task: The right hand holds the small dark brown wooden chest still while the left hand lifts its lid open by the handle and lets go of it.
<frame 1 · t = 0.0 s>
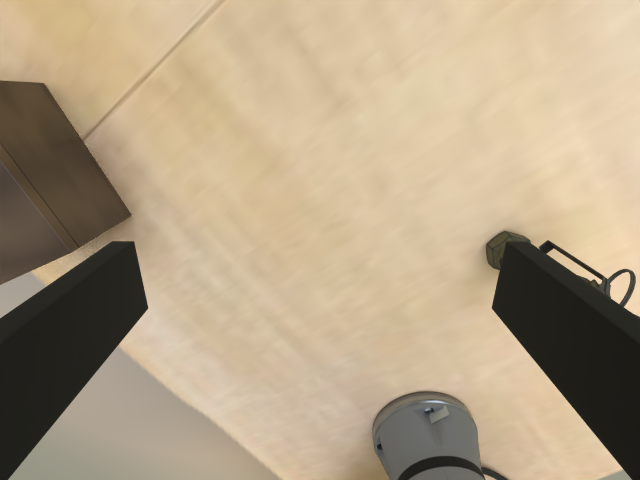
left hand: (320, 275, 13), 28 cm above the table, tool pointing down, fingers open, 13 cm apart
grenade: (514, 246, 43), on the table
chest: (57, 170, 39), on the table
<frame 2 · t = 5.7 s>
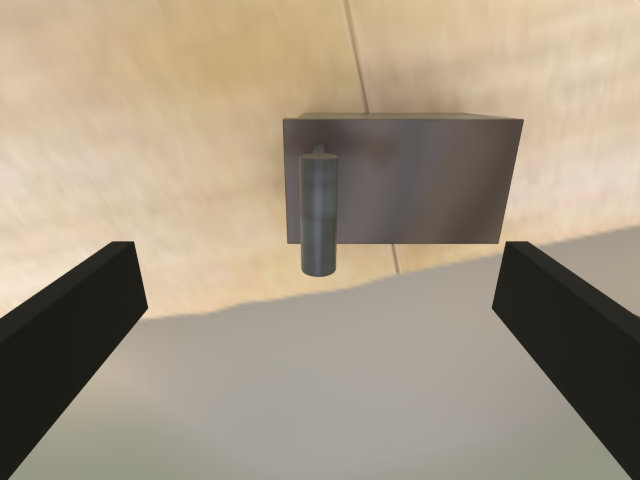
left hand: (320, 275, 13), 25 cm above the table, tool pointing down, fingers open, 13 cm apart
lid: (409, 198, 22), point 14 cm above the table, hinge at 0.0°
chest: (380, 161, 36), on the table
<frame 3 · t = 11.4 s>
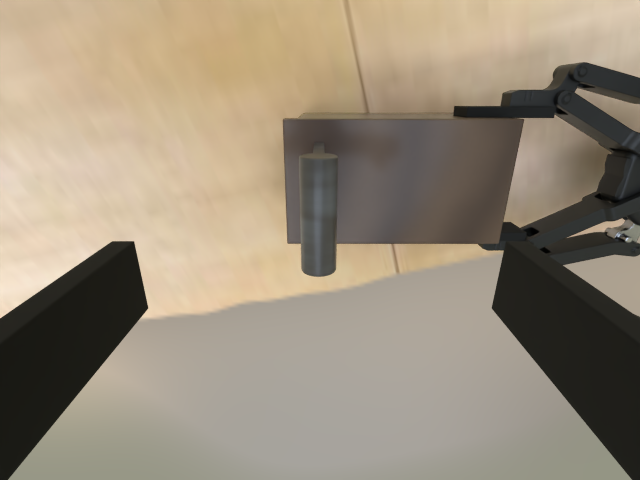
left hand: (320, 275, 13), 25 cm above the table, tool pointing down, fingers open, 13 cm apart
right hand: (451, 175, 29), fingers closed on chest, 9 cm apart
lid: (409, 198, 22), point 14 cm above the table, hinge at 0.0°
chest: (380, 161, 36), on the table, touching right hand
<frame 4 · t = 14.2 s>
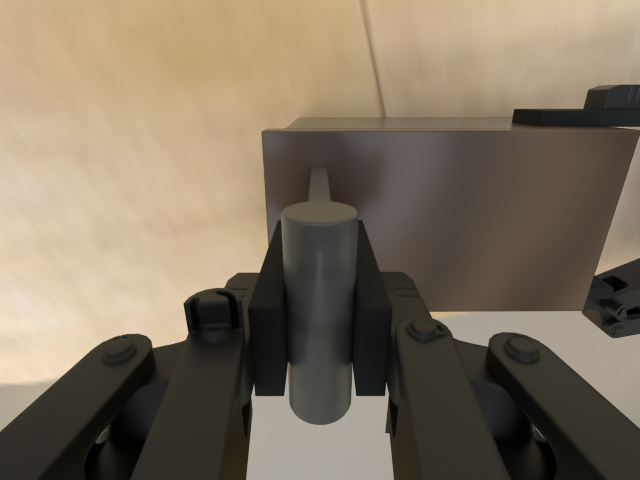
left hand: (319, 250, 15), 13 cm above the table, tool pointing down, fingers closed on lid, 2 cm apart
lid: (467, 261, 14), point 14 cm above the table, hinge at 0.6°, touching left hand
chest: (400, 181, 27), on the table, touching right hand
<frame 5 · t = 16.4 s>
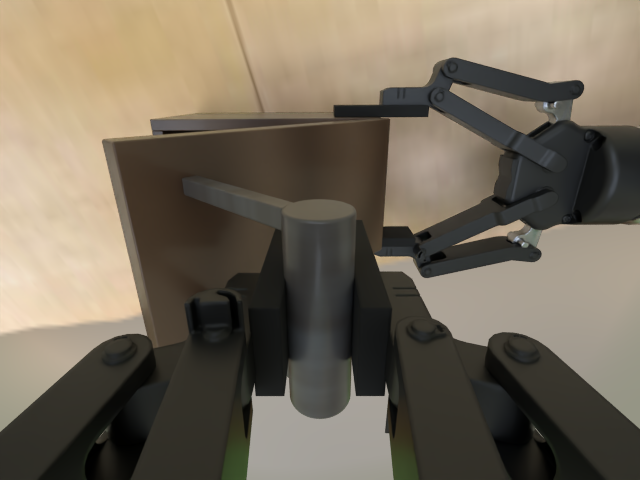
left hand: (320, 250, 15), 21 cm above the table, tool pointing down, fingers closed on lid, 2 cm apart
right hand: (333, 178, 28), fingers closed on chest, 9 cm apart
lid: (348, 232, 17), point 19 cm above the table, hinge at 46.1°, touching left hand
chest: (282, 162, 34), on the table, touching right hand
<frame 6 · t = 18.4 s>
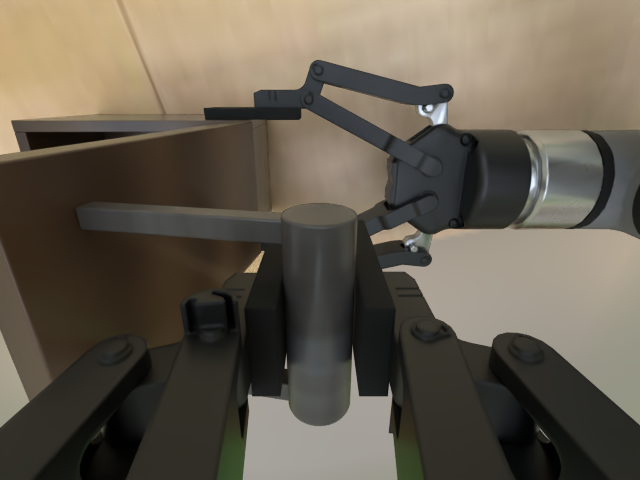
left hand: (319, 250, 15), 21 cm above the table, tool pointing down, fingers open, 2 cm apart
right hand: (217, 181, 27), fingers closed on chest, 9 cm apart
lid: (265, 238, 16), point 19 cm above the table, hinge at 78.7°
chest: (188, 164, 34), on the table, touching right hand
when the right hand's fingers open (7 cm above the table, at t = 22.8 s): chest stays where it is, on the table.
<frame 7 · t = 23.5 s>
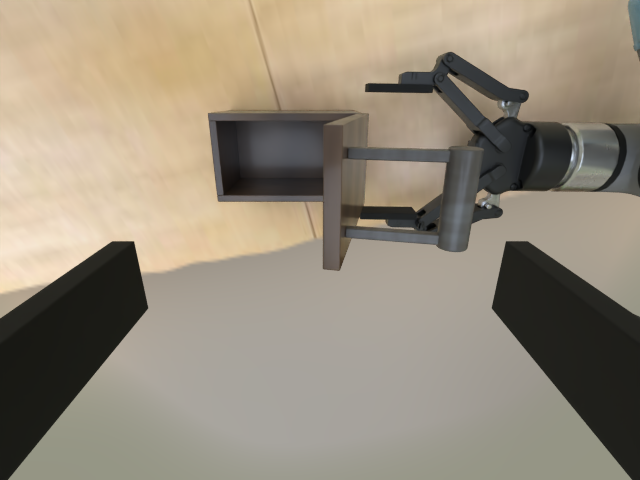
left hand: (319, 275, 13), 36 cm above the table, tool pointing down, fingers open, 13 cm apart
right hand: (362, 154, 39), fingers open, 13 cm apart
lid: (400, 178, 28), point 19 cm above the table, hinge at 77.6°
chest: (293, 147, 46), on the table
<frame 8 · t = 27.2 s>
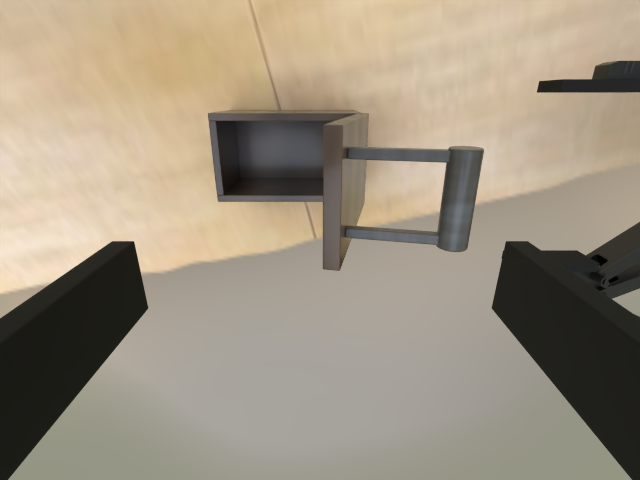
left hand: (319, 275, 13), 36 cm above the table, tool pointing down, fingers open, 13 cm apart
lid: (400, 178, 28), point 19 cm above the table, hinge at 77.6°
chest: (293, 147, 46), on the table
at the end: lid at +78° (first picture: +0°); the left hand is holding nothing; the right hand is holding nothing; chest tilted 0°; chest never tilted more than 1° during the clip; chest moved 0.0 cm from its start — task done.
